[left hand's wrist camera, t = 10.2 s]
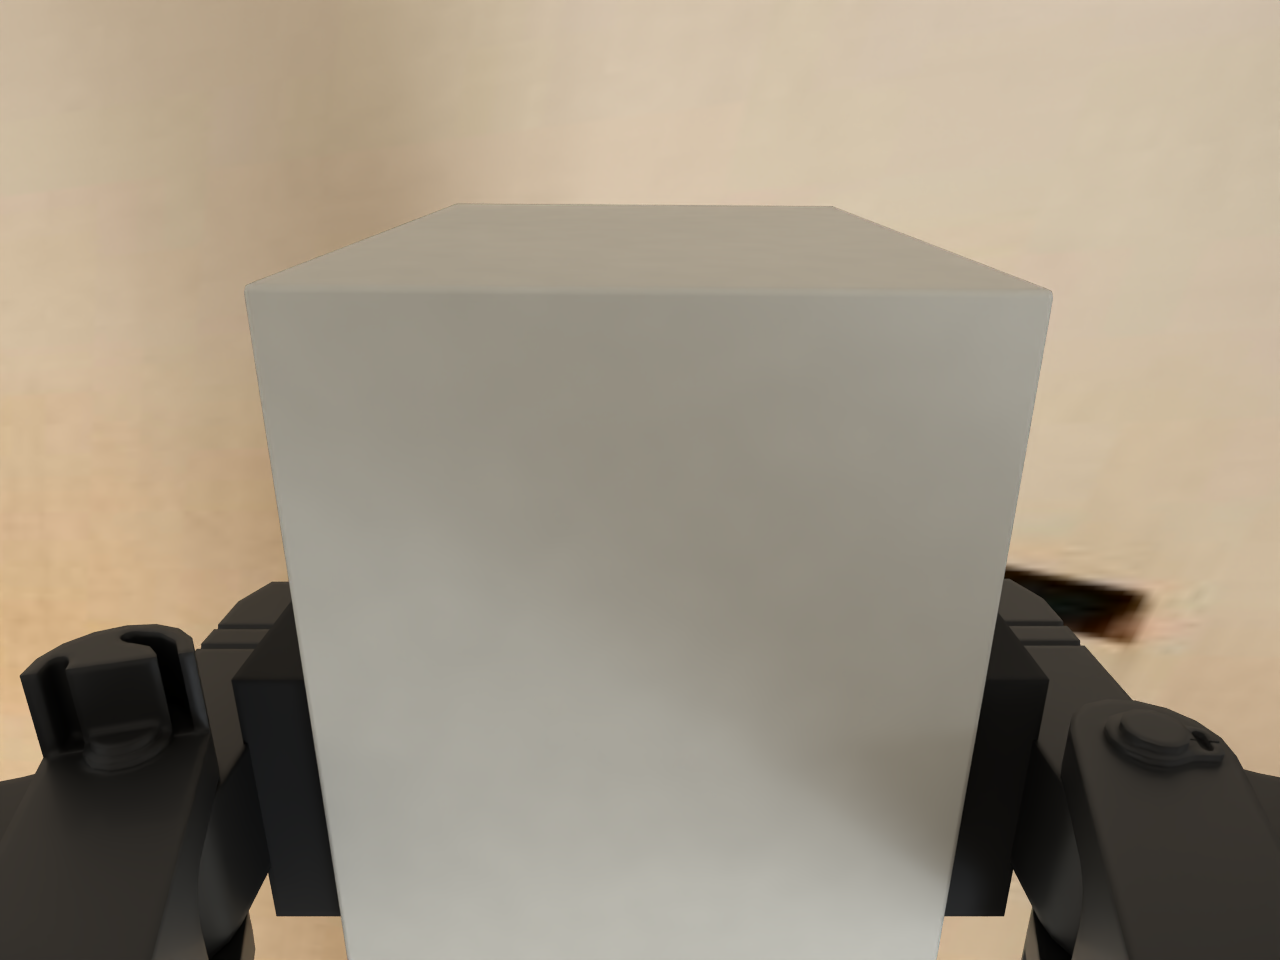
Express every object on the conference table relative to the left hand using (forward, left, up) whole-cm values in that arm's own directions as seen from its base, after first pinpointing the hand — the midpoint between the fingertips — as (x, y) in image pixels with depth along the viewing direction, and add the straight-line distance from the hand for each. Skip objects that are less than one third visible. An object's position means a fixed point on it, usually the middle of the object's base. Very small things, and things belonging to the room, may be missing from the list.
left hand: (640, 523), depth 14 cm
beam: (+25, +27, -1) cm, 37 cm away
